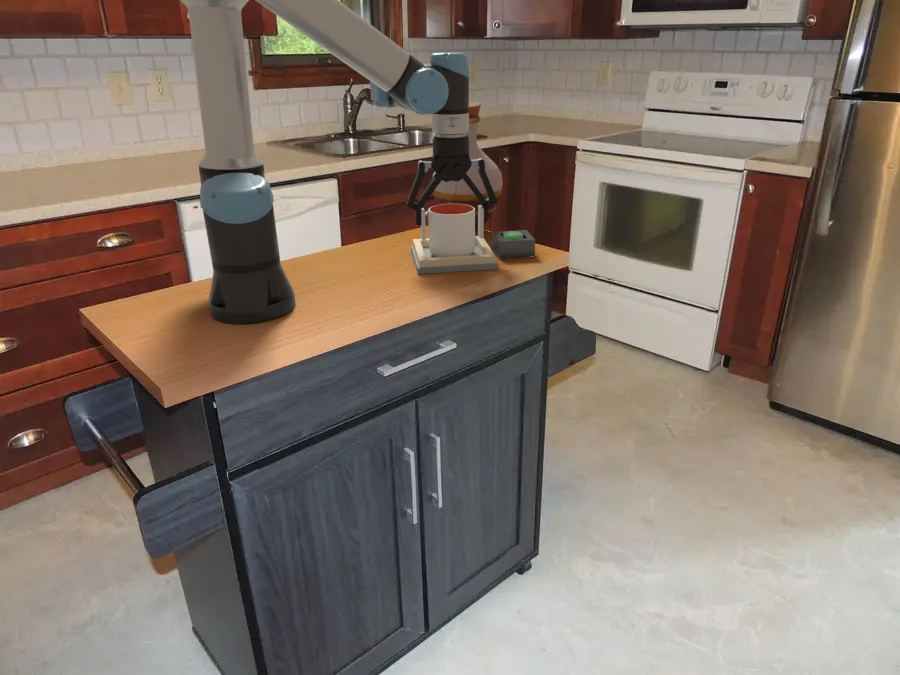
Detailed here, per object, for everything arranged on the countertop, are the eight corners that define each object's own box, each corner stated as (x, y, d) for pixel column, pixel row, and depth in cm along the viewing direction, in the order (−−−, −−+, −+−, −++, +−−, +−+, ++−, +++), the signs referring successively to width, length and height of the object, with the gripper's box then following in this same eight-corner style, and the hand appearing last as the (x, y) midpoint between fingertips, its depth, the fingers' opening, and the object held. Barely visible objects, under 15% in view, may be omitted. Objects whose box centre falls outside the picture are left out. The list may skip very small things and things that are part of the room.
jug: (441, 214, 183) (439, 99, 170) (506, 216, 180) (508, 99, 167) (426, 233, 165) (422, 106, 153) (497, 236, 162) (499, 107, 150)
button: (505, 251, 147) (505, 237, 146) (501, 245, 151) (501, 231, 149) (524, 250, 147) (525, 236, 146) (520, 244, 151) (520, 230, 150)
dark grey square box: (499, 259, 146) (499, 241, 144) (492, 248, 153) (492, 231, 151) (534, 257, 146) (535, 239, 145) (525, 246, 154) (526, 230, 152)
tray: (417, 274, 137) (417, 261, 136) (411, 250, 153) (410, 238, 152) (498, 269, 139) (498, 256, 138) (483, 246, 155) (483, 234, 154)
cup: (473, 246, 150) (473, 203, 146) (476, 260, 141) (476, 214, 137) (429, 247, 150) (428, 204, 146) (429, 261, 141) (428, 215, 137)
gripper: (392, 139, 130) (397, 245, 139) (512, 135, 133) (510, 239, 142) (390, 134, 137) (395, 236, 146) (504, 130, 140) (503, 230, 149)
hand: (452, 238), depth 144 cm, fingers open, 12 cm apart
